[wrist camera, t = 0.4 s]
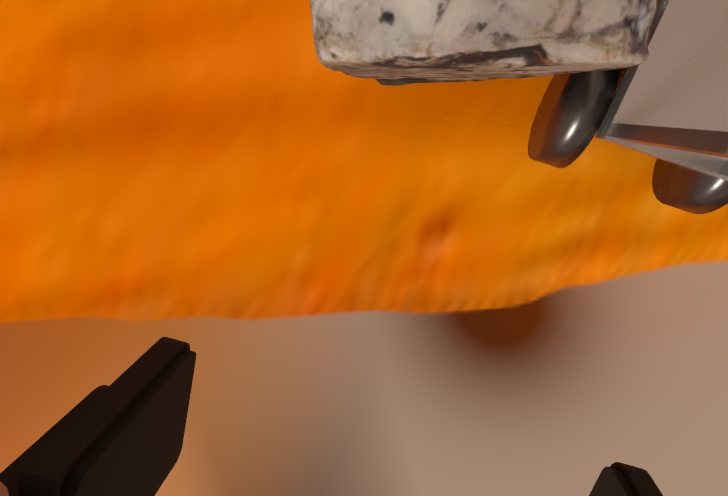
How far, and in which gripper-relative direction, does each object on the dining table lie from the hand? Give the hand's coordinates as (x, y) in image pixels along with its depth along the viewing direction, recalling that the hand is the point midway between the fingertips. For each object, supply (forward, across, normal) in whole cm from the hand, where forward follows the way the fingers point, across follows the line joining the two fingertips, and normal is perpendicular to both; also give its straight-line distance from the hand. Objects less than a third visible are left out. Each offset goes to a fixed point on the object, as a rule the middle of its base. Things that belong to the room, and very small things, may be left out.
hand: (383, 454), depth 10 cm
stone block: (+30, 0, -12) cm, 33 cm away
